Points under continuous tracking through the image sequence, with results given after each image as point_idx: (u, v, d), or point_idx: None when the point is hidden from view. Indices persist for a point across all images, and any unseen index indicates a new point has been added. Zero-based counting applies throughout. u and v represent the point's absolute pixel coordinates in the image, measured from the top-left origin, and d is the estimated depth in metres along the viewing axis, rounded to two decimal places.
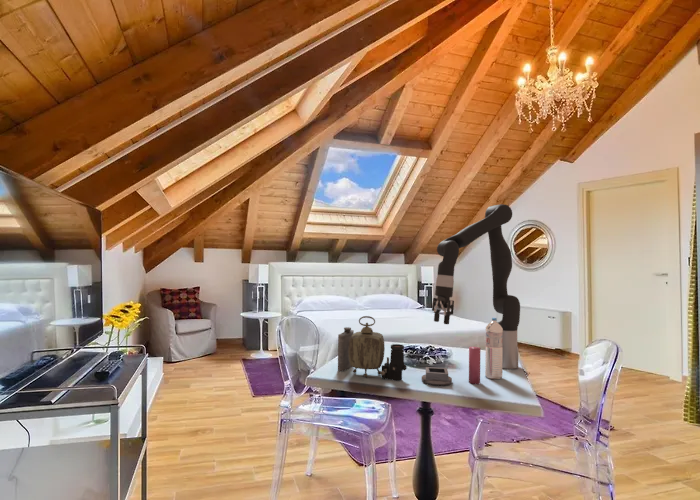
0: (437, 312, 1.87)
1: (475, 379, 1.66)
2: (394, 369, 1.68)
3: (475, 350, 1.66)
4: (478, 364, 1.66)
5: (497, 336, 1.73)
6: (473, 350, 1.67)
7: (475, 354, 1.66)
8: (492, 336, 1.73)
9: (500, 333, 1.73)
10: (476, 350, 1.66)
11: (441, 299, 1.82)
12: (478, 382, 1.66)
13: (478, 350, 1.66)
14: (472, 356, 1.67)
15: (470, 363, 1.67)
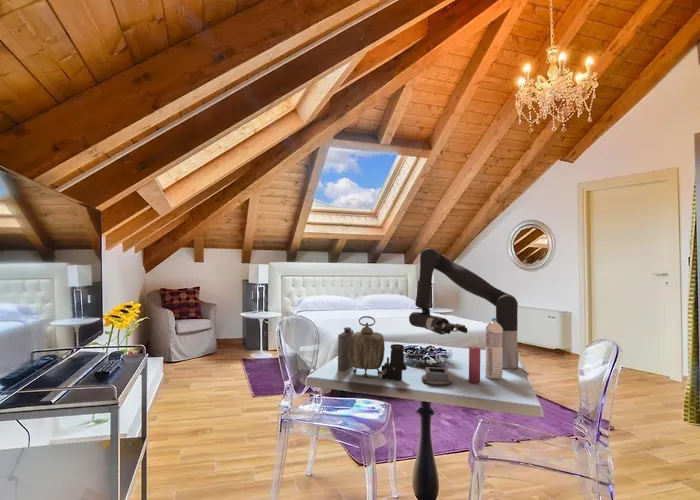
0: (460, 329, 1.84)
1: (475, 379, 1.66)
2: (394, 369, 1.68)
3: (475, 350, 1.66)
4: (478, 364, 1.66)
5: (497, 336, 1.73)
6: (473, 350, 1.67)
7: (475, 354, 1.66)
8: (492, 336, 1.73)
9: (500, 333, 1.73)
10: (476, 350, 1.66)
11: None
12: (478, 382, 1.66)
13: (478, 350, 1.66)
14: (472, 356, 1.67)
15: (470, 363, 1.67)
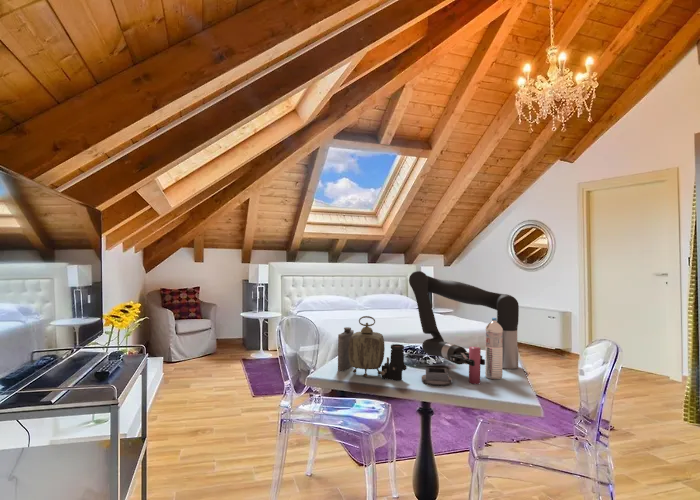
0: None
1: (476, 379, 1.66)
2: (394, 369, 1.68)
3: (475, 350, 1.66)
4: (478, 364, 1.66)
5: (497, 336, 1.73)
6: (473, 350, 1.67)
7: (475, 354, 1.66)
8: (492, 336, 1.73)
9: (500, 333, 1.73)
10: (476, 350, 1.66)
11: None
12: (478, 382, 1.66)
13: (478, 350, 1.66)
14: (472, 356, 1.67)
15: None
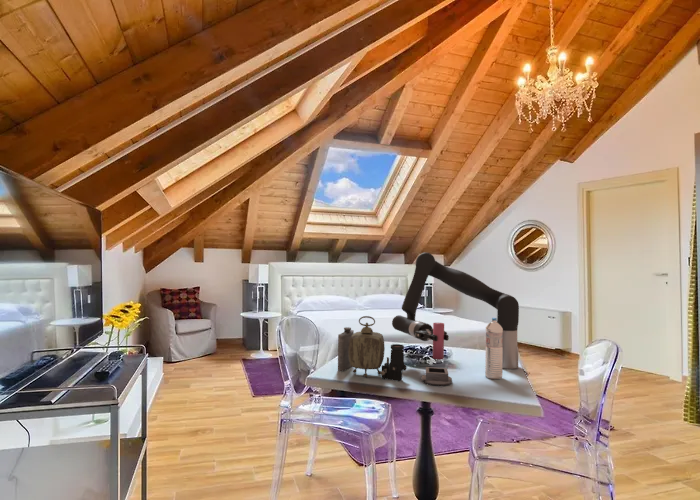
0: None
1: (439, 354, 1.67)
2: (394, 369, 1.68)
3: (438, 325, 1.67)
4: (441, 339, 1.67)
5: (497, 336, 1.73)
6: (437, 325, 1.67)
7: (438, 329, 1.67)
8: (492, 336, 1.73)
9: (500, 333, 1.73)
10: (439, 325, 1.67)
11: None
12: (441, 357, 1.67)
13: (442, 325, 1.67)
14: (435, 332, 1.68)
15: None
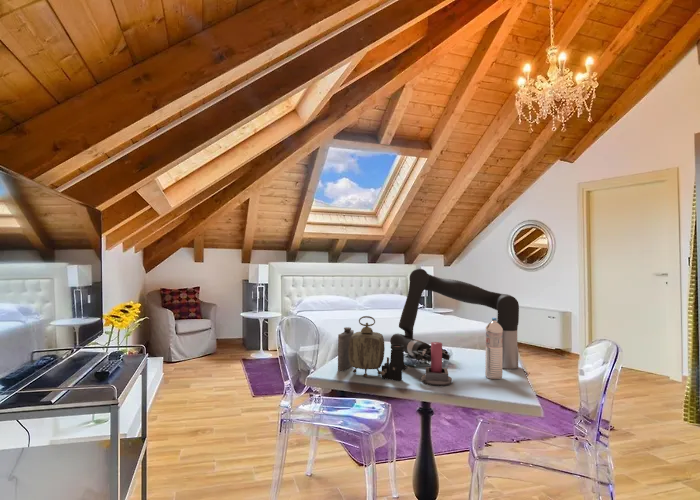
0: (442, 355, 1.72)
1: None
2: (394, 369, 1.68)
3: (436, 345, 1.67)
4: (439, 359, 1.67)
5: (497, 336, 1.73)
6: (434, 345, 1.67)
7: (436, 349, 1.67)
8: (492, 336, 1.73)
9: (500, 333, 1.73)
10: (437, 345, 1.67)
11: None
12: None
13: (439, 345, 1.67)
14: (433, 352, 1.67)
15: (432, 358, 1.68)
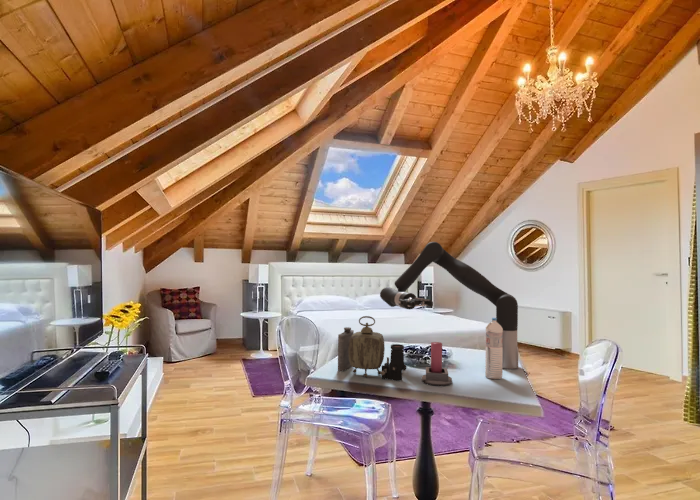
0: (426, 302, 1.85)
1: None
2: (394, 369, 1.68)
3: (436, 345, 1.67)
4: (439, 359, 1.67)
5: (497, 336, 1.73)
6: (434, 345, 1.67)
7: (436, 349, 1.67)
8: (492, 336, 1.73)
9: (500, 333, 1.73)
10: (437, 345, 1.67)
11: None
12: None
13: (439, 345, 1.67)
14: (433, 352, 1.67)
15: (432, 358, 1.68)
